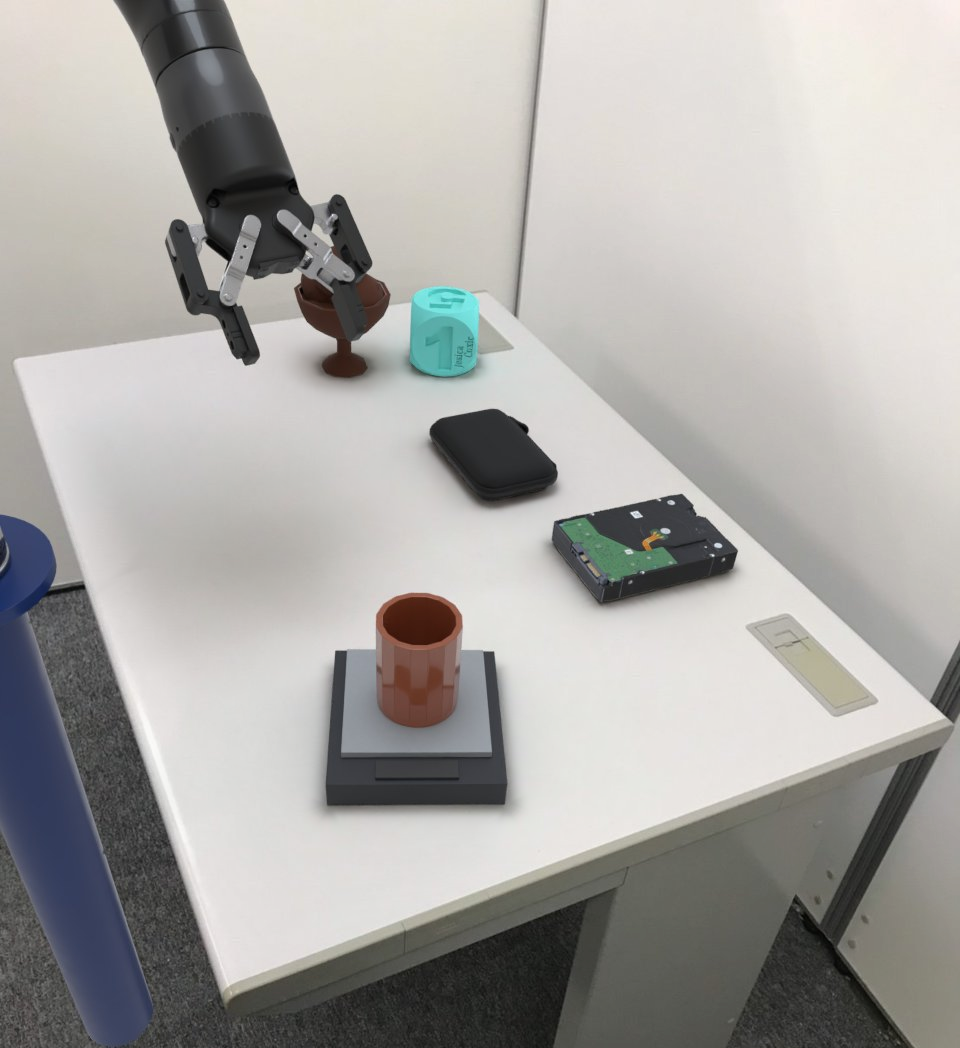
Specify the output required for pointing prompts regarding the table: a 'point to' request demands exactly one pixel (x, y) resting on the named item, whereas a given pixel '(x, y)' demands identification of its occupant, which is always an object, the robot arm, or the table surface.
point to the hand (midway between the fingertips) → (306, 349)
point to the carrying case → (493, 453)
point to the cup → (418, 659)
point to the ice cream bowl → (325, 319)
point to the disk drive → (642, 547)
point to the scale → (414, 741)
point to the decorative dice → (444, 331)
